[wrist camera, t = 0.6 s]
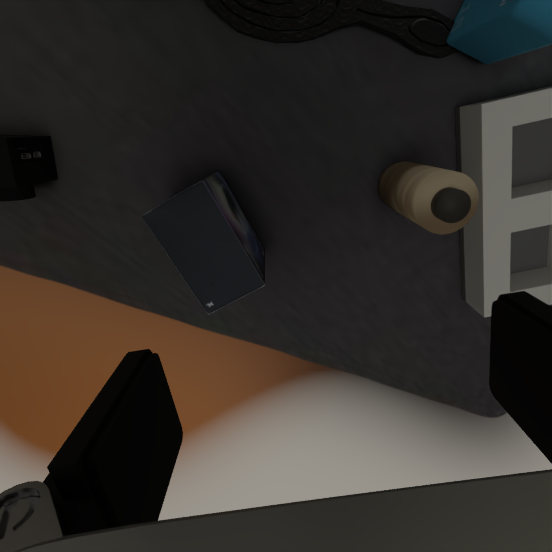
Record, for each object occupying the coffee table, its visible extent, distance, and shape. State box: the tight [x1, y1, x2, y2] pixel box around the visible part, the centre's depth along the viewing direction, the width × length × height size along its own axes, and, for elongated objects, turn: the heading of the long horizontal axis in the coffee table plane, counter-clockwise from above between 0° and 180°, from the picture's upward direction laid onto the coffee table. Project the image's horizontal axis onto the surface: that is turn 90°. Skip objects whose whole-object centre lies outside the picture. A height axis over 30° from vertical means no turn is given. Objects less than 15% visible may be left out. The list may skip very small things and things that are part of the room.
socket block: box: [455, 85, 552, 317], centre depth 38 cm, size 22×12×5 cm, turn 12°
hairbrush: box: [205, 0, 458, 58], centre depth 33 cm, size 8×4×25 cm
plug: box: [378, 161, 479, 234], centre depth 34 cm, size 5×5×12 cm
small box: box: [142, 170, 265, 314], centre depth 36 cm, size 11×6×10 cm, turn 28°
